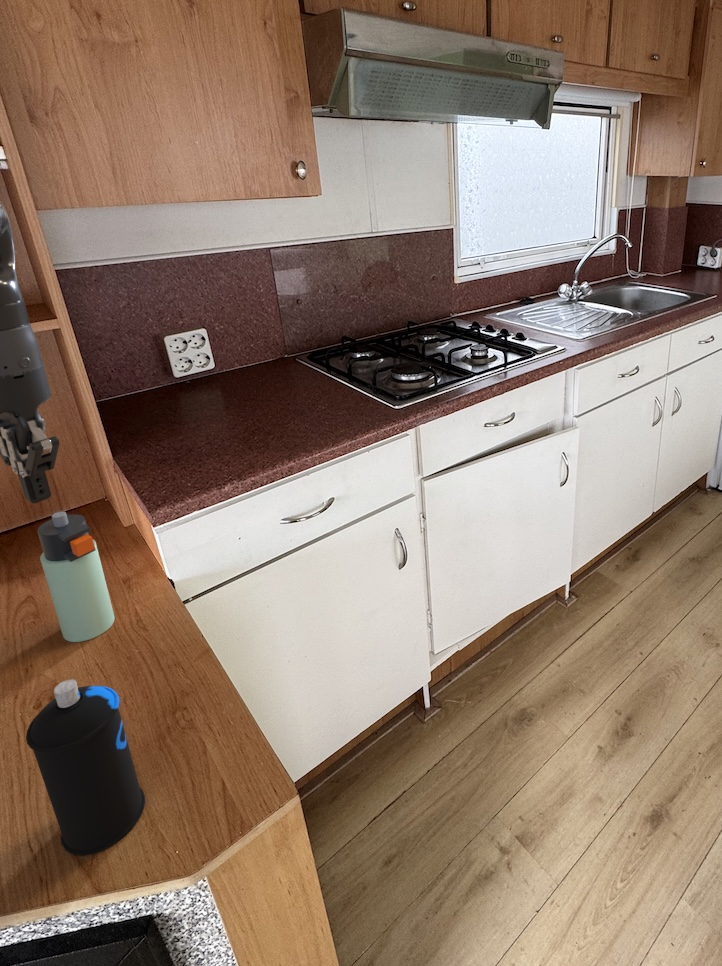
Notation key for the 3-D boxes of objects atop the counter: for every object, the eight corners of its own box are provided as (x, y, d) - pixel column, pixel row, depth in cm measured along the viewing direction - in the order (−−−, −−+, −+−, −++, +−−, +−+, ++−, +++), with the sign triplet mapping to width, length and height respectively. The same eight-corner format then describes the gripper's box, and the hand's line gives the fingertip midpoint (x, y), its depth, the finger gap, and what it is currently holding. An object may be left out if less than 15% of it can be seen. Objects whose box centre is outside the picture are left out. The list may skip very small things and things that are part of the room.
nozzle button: (72, 553, 88) (69, 541, 87) (89, 545, 90) (86, 533, 89) (78, 557, 87) (75, 544, 87) (95, 549, 89) (92, 536, 89)
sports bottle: (53, 631, 95) (19, 518, 88) (100, 606, 101) (71, 498, 94) (80, 650, 91) (47, 534, 84) (127, 623, 97) (100, 511, 90)
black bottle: (85, 872, 62) (40, 734, 55) (46, 831, 66) (-1, 698, 59) (160, 805, 69) (127, 675, 62) (120, 772, 73) (85, 646, 66)
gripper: (-67, 364, 65) (-24, 498, 71) (-12, 384, 59) (30, 529, 65) (11, 349, 72) (45, 474, 78) (68, 366, 66) (101, 500, 72)
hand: (39, 499), depth 71 cm, fingers closed
